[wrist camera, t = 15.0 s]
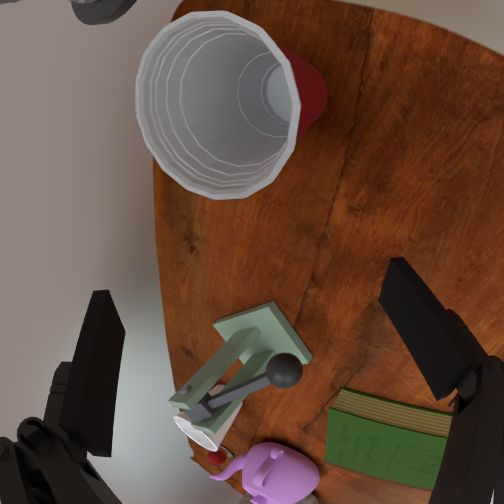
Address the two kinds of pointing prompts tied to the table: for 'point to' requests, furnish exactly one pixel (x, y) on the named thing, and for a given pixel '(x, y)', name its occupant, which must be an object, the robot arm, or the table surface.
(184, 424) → the cup
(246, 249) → the table surface
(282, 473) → the teapot
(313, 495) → the planter
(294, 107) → the plastic cup
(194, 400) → the switch bracket
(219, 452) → the apple
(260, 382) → the switch lever
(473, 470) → the robot arm
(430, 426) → the book
